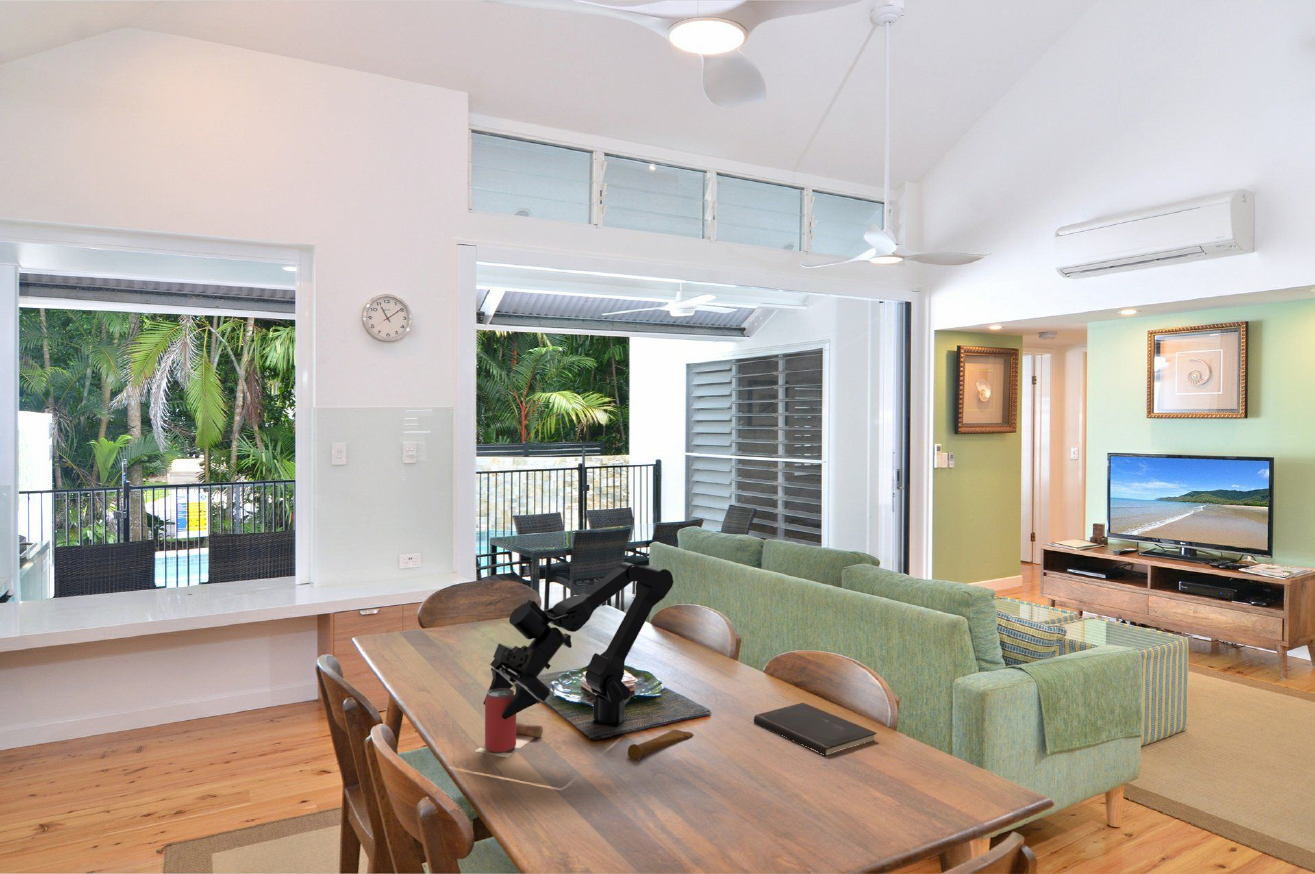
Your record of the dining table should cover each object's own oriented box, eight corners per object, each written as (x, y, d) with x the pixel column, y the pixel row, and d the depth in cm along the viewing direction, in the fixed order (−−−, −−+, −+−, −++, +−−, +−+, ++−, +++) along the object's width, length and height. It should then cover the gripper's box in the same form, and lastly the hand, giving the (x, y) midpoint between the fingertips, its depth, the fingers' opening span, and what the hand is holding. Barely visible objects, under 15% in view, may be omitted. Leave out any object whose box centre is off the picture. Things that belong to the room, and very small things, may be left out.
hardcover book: (803, 711, 201) (803, 702, 201) (876, 742, 182) (876, 732, 182) (753, 725, 192) (753, 715, 192) (825, 759, 173) (825, 748, 173)
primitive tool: (675, 731, 188) (675, 716, 188) (695, 737, 185) (696, 721, 184) (625, 760, 172) (625, 743, 172) (646, 766, 169) (646, 750, 169)
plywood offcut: (542, 733, 185) (542, 731, 185) (507, 759, 171) (507, 757, 171) (512, 728, 188) (512, 726, 188) (474, 753, 174) (474, 751, 174)
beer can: (493, 756, 171) (493, 699, 171) (479, 746, 176) (479, 691, 176) (521, 749, 175) (521, 693, 175) (507, 739, 180) (507, 685, 180)
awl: (542, 735, 183) (542, 724, 183) (537, 739, 180) (537, 728, 180) (496, 727, 187) (496, 716, 187) (490, 731, 185) (490, 720, 185)
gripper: (498, 620, 185) (451, 678, 179) (536, 639, 169) (486, 703, 163) (530, 649, 189) (485, 706, 183) (570, 670, 174) (522, 733, 168)
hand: (493, 711), depth 174 cm, fingers open, 9 cm apart
